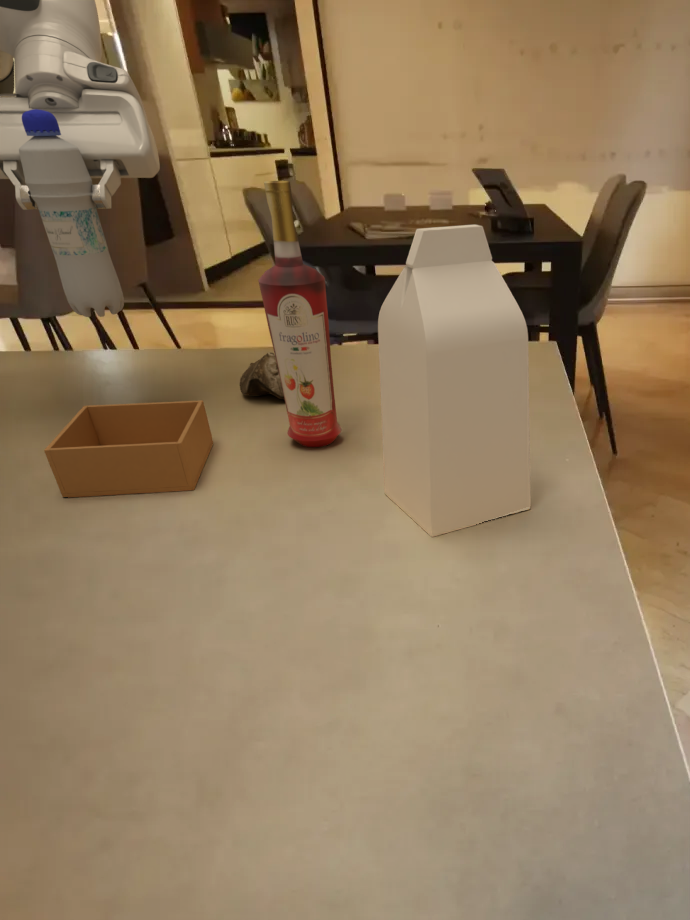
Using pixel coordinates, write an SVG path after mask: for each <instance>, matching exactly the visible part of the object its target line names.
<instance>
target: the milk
mask: <svg viewBox="0 0 690 920" xmlns="http://www.w3.org/2000/svg"><path fill="white" fill-rule="evenodd" d="M377 338H378V339H377V340H378V360H379V361H378V363H379V387H380V388H379V389H380V411H381V414H380V415H381V435H382V439H381V440H382V463H383V482H384V483H383V486H384V489H383V490H384V495H385V496H386V497H388V499H389V500H391V501H392V502H393V503H394V504H395V505H396V506H397V507H398V508H400V509H401V510H402V511H403V512H404V514H406V515H407V516H408V517H409V518H410V519H411V520H412V521H413V522H414V523H416V524H417V525H418V526H419V527H420V528H421V529H422V530H423V531H425V533H427V535H429V536H430V537H431V538H433V537H437V536H440V535H445V534H448V533H451V532H455V531H459V530H462V529H466V528H469V527H473V526H477V525H480V524H479V523H481V524H483V523H482V522H484V521H488V520H490V519H493V518H496V517H499V516H503V515H505V514H508V513H510V512H514V511H517V510H520V509H523V508H526V507H530V506H531V507H532V503H531V502H532V500H531V499H532V498H531V495H532V494H531V492H532V491H531V489H532V488H531V438H530V437H531V434H530V431H531V430H530V429H531V428H530V372H529V371H530V370H529V369H530V366H529V365H530V364H529V332H528V326H527V322H526V318H525V316H524V314H523V311H522V310H521V308H520V306H519V304H518V302H517V300H516V299H515V296H514V295H513V293H512V291H511V290H510V288H509V286H508V283H506V281H505V279H504V277H503V276H502V274H501V272H500V270H499V268H498V267H497V265H496V263H495V262H494V261H493V255H492V253H491V249H490V247H489V242H488V239H487V236H486V232H485V229H484V226H483V225H480V224H463V225H450V226H437V227H423V228H422V227H421V228H416V229H415V233H414V236H413V239H412V242H411V246H410V248H409V251H408V255H407V258H406V261H405V266H404V267H403V269H402V270H401V272H400V274H399V275H398V277H397V279H396V280H395V282H394V283H393V285H392V287H391V289H390V290H389V292H388V293H387V295H386V297H385V299H384V301H383V303H382V305H381V307H380V310H379V314H378V319H377ZM488 522H489V521H488ZM484 523H485V522H484ZM476 524H477V525H476Z"/></svg>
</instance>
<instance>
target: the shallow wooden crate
mask: <svg viewBox="0 0 690 920" xmlns="http://www.w3.org/2000/svg"><path fill="white" fill-rule="evenodd" d="M213 445H214V439H213V434H212V432H211V427H210V423H209V419H208V415H207V410H206V407H205V403H204V400H202V399H201V400H182V401H181V400H179V401H178V400H177V401H159V402H156V401H155V402H135V403H134V402H133V403H115V404H95V405H94V404H91V405H89V404H88V405H83V406H82V407H81V409H79V411H77V413H76V414H75V415H74V416H73V417H72V419H70V421H69V422H67V424H66V425H65V426H63V428H62V429H61V430H60V432H59V433H58V434H57V435H56V436H54V439H52V441H50V443H49V444H48V445H47V446H46V447H45V448H44V449H43V452H44V454H45V457H46V459H47V461H48V464H49V467H50V469H51V472H52V473H53V476H54V479H55V481H56V484H57V487H58V489H59V492H60V494H61V497H62V498H63V497H68V498H83V497H98V496H99V497H100V496H114V495H115V496H116V495H117V496H119V495H132V494H133V495H135V494H150V493H168V492H185V491H186V492H187V491H194V490H195V489H196V487H197V484H198V482H199V479H200V477H201V474H202V472H203V469H204V468H205V465H206V462H207V460H208V458H209V455H210V454H211V453H210V452H211V450H212V448H213Z"/></svg>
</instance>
